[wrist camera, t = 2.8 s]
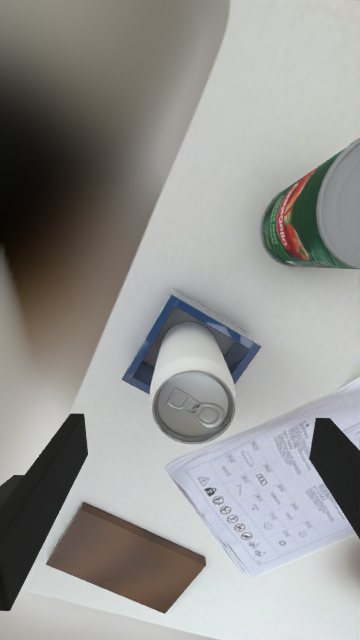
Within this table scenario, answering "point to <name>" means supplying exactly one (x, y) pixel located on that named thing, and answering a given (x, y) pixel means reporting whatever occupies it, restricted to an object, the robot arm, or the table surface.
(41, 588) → the table surface
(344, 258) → the canned tomato
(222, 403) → the can
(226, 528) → the table surface
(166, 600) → the board
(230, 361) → the holder
